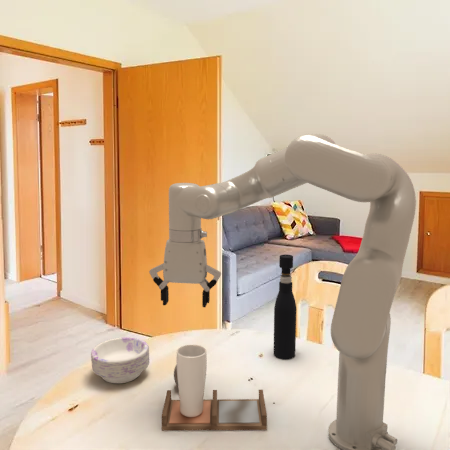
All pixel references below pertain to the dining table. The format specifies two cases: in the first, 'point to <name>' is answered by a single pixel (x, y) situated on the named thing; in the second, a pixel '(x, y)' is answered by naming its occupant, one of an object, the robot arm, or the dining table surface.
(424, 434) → the dining table surface
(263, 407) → the slot rack
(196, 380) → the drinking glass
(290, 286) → the wine bottle
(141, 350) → the paper bowls
